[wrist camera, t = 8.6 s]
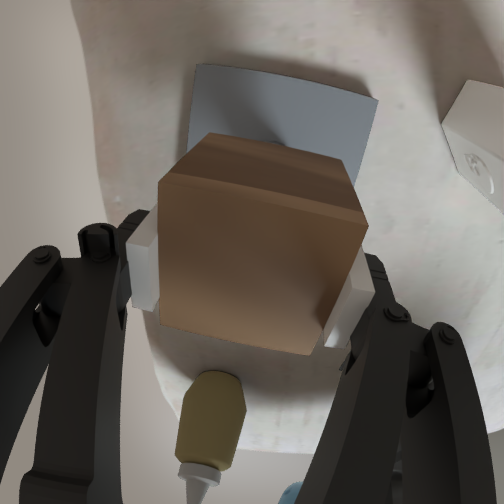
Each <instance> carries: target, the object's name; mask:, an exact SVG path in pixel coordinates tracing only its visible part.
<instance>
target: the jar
mask: <svg viewBox="0 0 504 504" xmlns="http://www.w3.org/2000/svg"><path fill="white" fill-rule="evenodd" d="M441 125H442V128H443V131H444V133H445V136H446V138H447V141H448V144H449V146H450V149H451V152H452V155H453V158H454V161H455V164H456V167H457V170H458V173H459V174H460V175H461V176H462V177H463V178H464V179H465V180H466V181H468V182H469V183H470V184H471V185H472V186H473V187H474V188H476V189H477V190H478V191H479V192H480V193H481V194H482V195H483V196H484V197H485V198H486V199H488V200H489V201H490V202H491V203H492V204H493V205H494V206H495V207H496V208H497V209H498V210H499V211H500V212H501V213H502V214H503V215H504V88H503V87H500V86H496V85H492V84H488V83H483V82H479V81H475V80H467V81H466V83H465V85H464V86H463V88H462V90H461V92H460V93H459V95H458V97H457V98H456V100H455V102H454V103H453V105H452V107H451V108H450V110H449V112H448V113H447V115H446V117H445V118H444V120H443V122H442V124H441Z"/></svg>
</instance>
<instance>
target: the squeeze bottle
mask: <svg viewBox="0 0 504 504" xmlns="http://www.w3.org/2000/svg"><path fill="white" fill-rule="evenodd" d="M246 411H247V410H246V404H245V399H244V395H243V390H242V386H241V382H240V381H239V380H238V379H237V378H235V377H234V376H232V375H230V374H227V373H224V372H220V371H207V372H203V373H202V374H200V375H199V376H198V377H197V379H196V380H195V381H194V383H193V384H192V385H191V386H190V388H189V389H188V390H187V392H186V393H185V396H184V398H183V404H182V410H181V417H180V423H179V429H178V436H177V443H176V449H175V456H176V457H177V458H178V460H179V461H180V462H181V463H182V464H181V465H180V469H179V473H178V477H179V478H180V479H183V480H185V481H186V494H187V504H201V502H202V500H203V498H204V496H205V494H206V492H207V490H208V488H209V486H218V485H219V483H220V478H221V472H220V471H225V470H227V469H228V468H230V467H231V464H232V461H233V457H234V454H235V451H236V447H237V444H238V440H239V436H240V433H241V429H242V426H243V422H244V418H245V415H246Z"/></svg>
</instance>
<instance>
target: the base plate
mask: <svg viewBox="0 0 504 504" xmlns="http://www.w3.org/2000/svg"><path fill="white" fill-rule="evenodd" d="M378 101H379V100H377V99H374V98H372V97H369V96H365V95H362V94H359V93H355V92H352V91H348V90H345V89H341V88H337V87H333V86H330V85H326V84H322V83H317V82H313V81H309V80H304V79H300V78H295V77H290V76H285V75H280V74H274V73H269V72H263V71H257V70H250V69H243V68H236V67H228V66H219V65H209V64H196V72H195V79H194V87H193V95H192V103H191V112H190V121H189V131H188V141H187V152H186V154H187V153H188V152H189V151H190V150H191V149H192V148H193V147H194V146H195V145H196V144H197V143H198V142H199V141H201V140H202V139H203V138H204V137H205V136H206V135H207V134H208V133H209V132H211V133H218V134H224V135H230V136H236V137H241V138H247V139H252V140H257V141H263V142H266V141H277V142H280V143H282V144H284V145H285V146H287V147H291V148H296V149H300V150H305V151H309V152H313V153H317V154H321V155H325V156H329V157H333V158H337V159H341V160H342V162H343V164H344V166H345V169H346V171H347V173H348V176H349V178H350V180H351V183H352V185H353V187H354V185H355V182H356V178H357V175H358V172H359V169H360V165H361V162H362V159H363V155H364V152H365V148H366V145H367V141H368V138H369V134H370V131H371V127H372V123H373V120H374V116H375V112H376V108H377V105H378Z"/></svg>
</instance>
